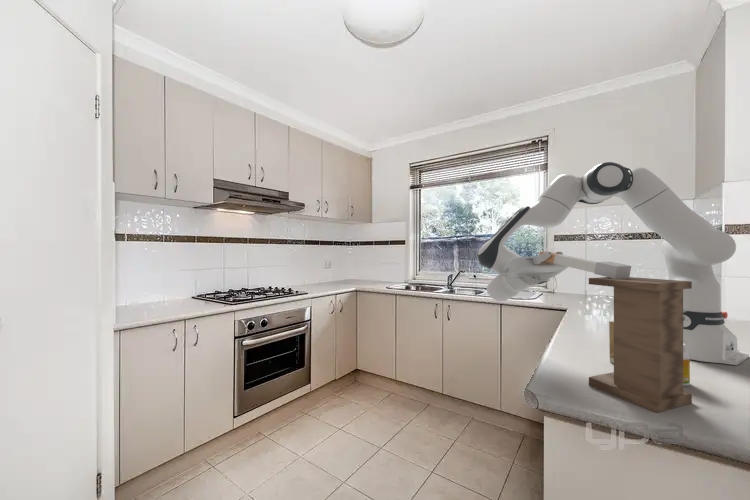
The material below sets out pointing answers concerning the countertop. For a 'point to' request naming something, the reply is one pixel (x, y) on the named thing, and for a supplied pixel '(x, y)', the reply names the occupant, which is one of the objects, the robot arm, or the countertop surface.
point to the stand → (646, 343)
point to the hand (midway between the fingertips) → (555, 253)
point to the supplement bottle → (686, 367)
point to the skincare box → (611, 340)
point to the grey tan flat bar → (592, 266)
